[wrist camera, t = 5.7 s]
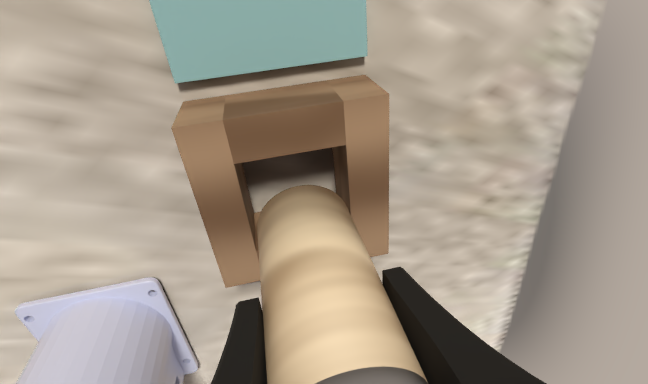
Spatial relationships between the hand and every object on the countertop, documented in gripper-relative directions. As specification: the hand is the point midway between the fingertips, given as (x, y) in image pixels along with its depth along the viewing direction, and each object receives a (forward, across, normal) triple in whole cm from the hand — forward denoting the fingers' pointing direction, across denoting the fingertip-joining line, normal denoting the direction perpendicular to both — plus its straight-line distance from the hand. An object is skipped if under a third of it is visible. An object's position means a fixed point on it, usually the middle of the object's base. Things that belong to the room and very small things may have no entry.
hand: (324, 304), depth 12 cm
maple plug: (+4, 0, 0) cm, 4 cm away
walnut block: (+10, 0, 0) cm, 10 cm away
